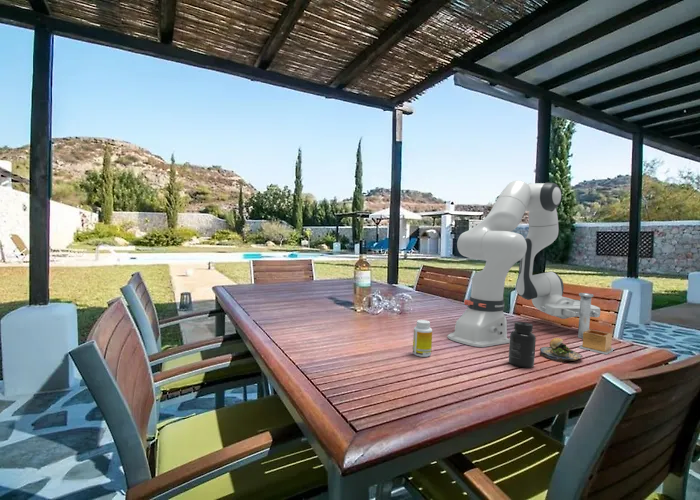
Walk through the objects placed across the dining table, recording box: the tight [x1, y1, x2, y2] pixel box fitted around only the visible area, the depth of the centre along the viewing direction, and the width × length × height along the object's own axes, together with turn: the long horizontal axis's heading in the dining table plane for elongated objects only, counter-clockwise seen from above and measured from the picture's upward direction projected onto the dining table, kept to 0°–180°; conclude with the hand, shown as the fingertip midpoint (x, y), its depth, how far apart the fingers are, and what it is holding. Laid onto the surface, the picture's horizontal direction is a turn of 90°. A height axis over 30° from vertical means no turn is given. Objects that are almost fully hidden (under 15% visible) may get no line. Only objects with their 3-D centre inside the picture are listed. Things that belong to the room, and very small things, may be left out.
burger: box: [539, 332, 584, 363], centre depth 117 cm, size 12×12×8 cm
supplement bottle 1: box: [412, 319, 433, 358], centre depth 114 cm, size 6×6×10 cm
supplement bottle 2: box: [508, 321, 537, 369], centre depth 108 cm, size 7×7×12 cm
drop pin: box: [577, 292, 594, 340], centre depth 140 cm, size 5×5×17 cm
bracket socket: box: [578, 328, 615, 355], centre depth 127 cm, size 8×8×6 cm
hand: (586, 315), depth 140 cm, fingers open, 7 cm apart
